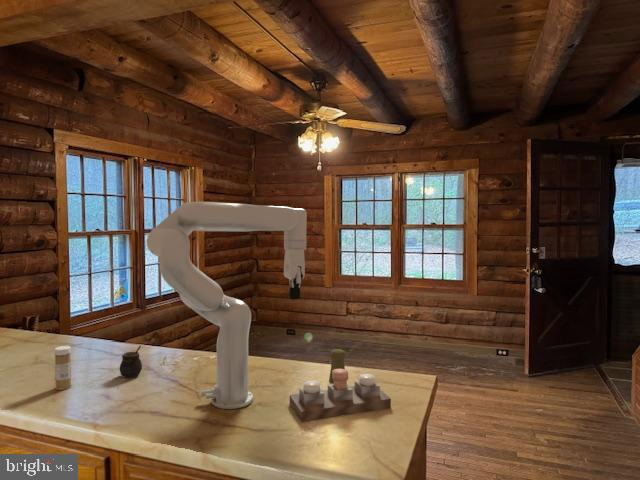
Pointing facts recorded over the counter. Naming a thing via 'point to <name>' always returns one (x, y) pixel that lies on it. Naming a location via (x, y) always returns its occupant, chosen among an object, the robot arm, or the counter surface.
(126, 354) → the mate gourd
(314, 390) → the button near
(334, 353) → the cork
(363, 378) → the button far
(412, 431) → the counter surface
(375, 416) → the counter surface
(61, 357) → the sprinkles bottle
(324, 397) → the button board
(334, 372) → the button middle
